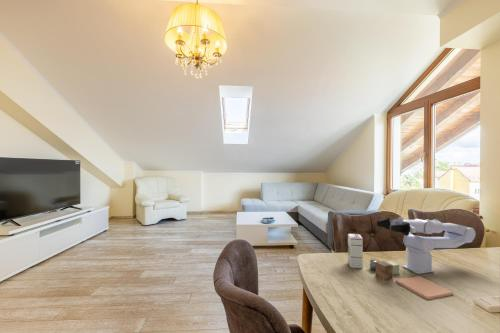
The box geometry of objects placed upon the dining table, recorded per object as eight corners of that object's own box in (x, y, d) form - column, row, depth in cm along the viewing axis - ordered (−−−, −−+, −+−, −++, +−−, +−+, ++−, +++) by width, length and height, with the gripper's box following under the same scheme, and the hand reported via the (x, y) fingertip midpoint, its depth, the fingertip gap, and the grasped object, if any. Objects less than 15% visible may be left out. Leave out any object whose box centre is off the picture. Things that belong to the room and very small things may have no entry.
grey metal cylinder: (374, 267, 111) (375, 258, 111) (381, 271, 107) (382, 262, 107) (368, 268, 110) (368, 259, 110) (374, 272, 106) (374, 263, 106)
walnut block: (383, 274, 104) (383, 260, 104) (392, 278, 100) (392, 264, 100) (375, 275, 103) (375, 261, 103) (384, 280, 99) (384, 266, 99)
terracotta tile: (419, 278, 101) (419, 276, 101) (453, 294, 88) (453, 292, 88) (395, 282, 97) (395, 279, 97) (427, 299, 84) (427, 297, 84)
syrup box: (363, 268, 109) (363, 237, 109) (349, 267, 111) (350, 236, 111) (359, 263, 115) (360, 234, 115) (347, 262, 116) (347, 233, 116)
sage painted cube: (391, 269, 109) (391, 261, 109) (399, 273, 105) (399, 264, 105) (384, 270, 108) (384, 262, 108) (391, 274, 104) (392, 265, 104)
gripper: (395, 213, 115) (372, 213, 111) (424, 221, 101) (399, 220, 97) (393, 228, 115) (371, 227, 111) (423, 237, 101) (398, 237, 97)
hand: (384, 225), depth 104 cm, fingers open, 7 cm apart
